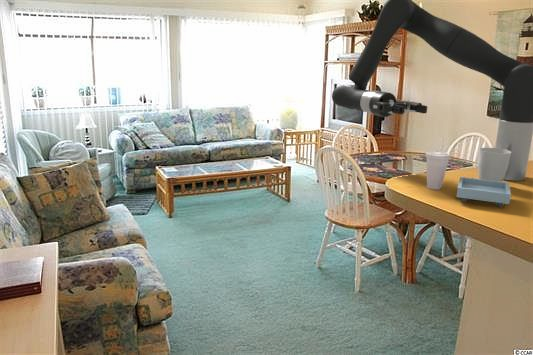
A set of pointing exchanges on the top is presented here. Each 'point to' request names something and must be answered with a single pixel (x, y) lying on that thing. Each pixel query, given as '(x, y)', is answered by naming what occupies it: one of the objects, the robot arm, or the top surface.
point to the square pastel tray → (484, 190)
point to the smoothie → (436, 167)
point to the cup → (493, 163)
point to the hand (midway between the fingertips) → (415, 110)
